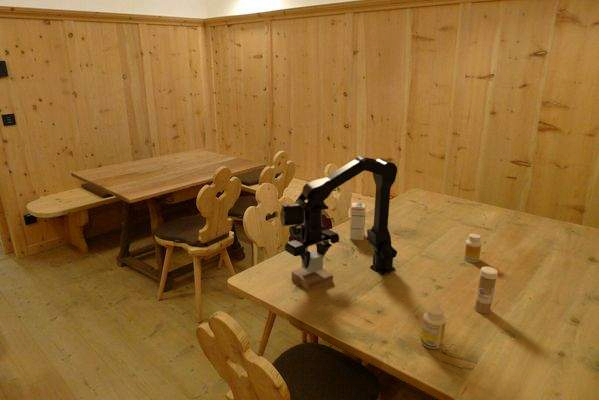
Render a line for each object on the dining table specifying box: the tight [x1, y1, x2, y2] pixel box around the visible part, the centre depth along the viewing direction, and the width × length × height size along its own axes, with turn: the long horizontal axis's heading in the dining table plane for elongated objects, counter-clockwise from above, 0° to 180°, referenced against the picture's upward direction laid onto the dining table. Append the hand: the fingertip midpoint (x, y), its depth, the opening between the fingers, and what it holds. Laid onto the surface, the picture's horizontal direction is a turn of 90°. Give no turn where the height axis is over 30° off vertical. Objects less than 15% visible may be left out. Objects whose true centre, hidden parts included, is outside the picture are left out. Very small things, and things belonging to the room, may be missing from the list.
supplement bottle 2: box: [463, 233, 482, 263], centre depth 150 cm, size 5×5×10 cm
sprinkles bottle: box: [474, 266, 499, 314], centre depth 119 cm, size 5×5×13 cm
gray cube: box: [301, 249, 324, 273], centre depth 135 cm, size 5×5×5 cm
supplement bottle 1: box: [420, 305, 447, 350], centre depth 105 cm, size 6×6×10 cm
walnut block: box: [291, 267, 334, 292], centre depth 136 cm, size 10×10×3 cm
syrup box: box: [349, 202, 367, 241], centre depth 168 cm, size 6×6×14 cm
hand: (312, 265), depth 135 cm, fingers closed on gray cube, 5 cm apart
